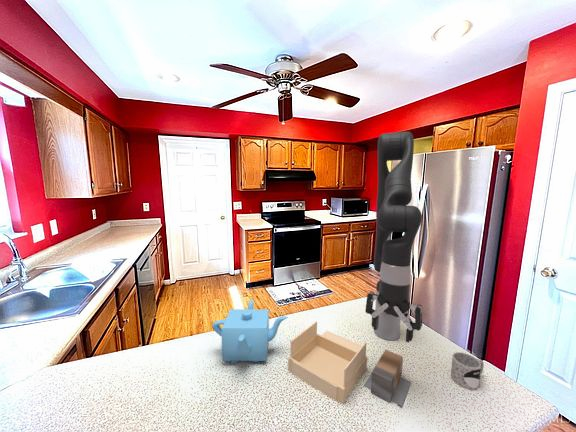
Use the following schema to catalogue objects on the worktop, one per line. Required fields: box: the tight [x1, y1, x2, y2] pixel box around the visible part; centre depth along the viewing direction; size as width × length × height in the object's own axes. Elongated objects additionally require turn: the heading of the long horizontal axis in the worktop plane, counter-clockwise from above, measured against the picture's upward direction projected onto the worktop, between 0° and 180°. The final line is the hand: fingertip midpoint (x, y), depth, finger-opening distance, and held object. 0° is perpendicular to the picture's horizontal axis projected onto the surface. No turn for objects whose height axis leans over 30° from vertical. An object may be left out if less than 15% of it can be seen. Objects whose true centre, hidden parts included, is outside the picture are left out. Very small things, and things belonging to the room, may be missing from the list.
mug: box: [450, 351, 485, 391], centre depth 71 cm, size 10×7×7 cm
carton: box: [287, 321, 368, 405], centre depth 74 cm, size 20×18×10 cm
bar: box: [370, 349, 404, 403], centre depth 68 cm, size 12×5×6 cm, turn 141°
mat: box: [363, 372, 412, 409], centre depth 68 cm, size 10×10×1 cm
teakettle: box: [212, 299, 288, 365], centre depth 80 cm, size 19×19×15 cm
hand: (391, 334), depth 67 cm, fingers open, 8 cm apart
